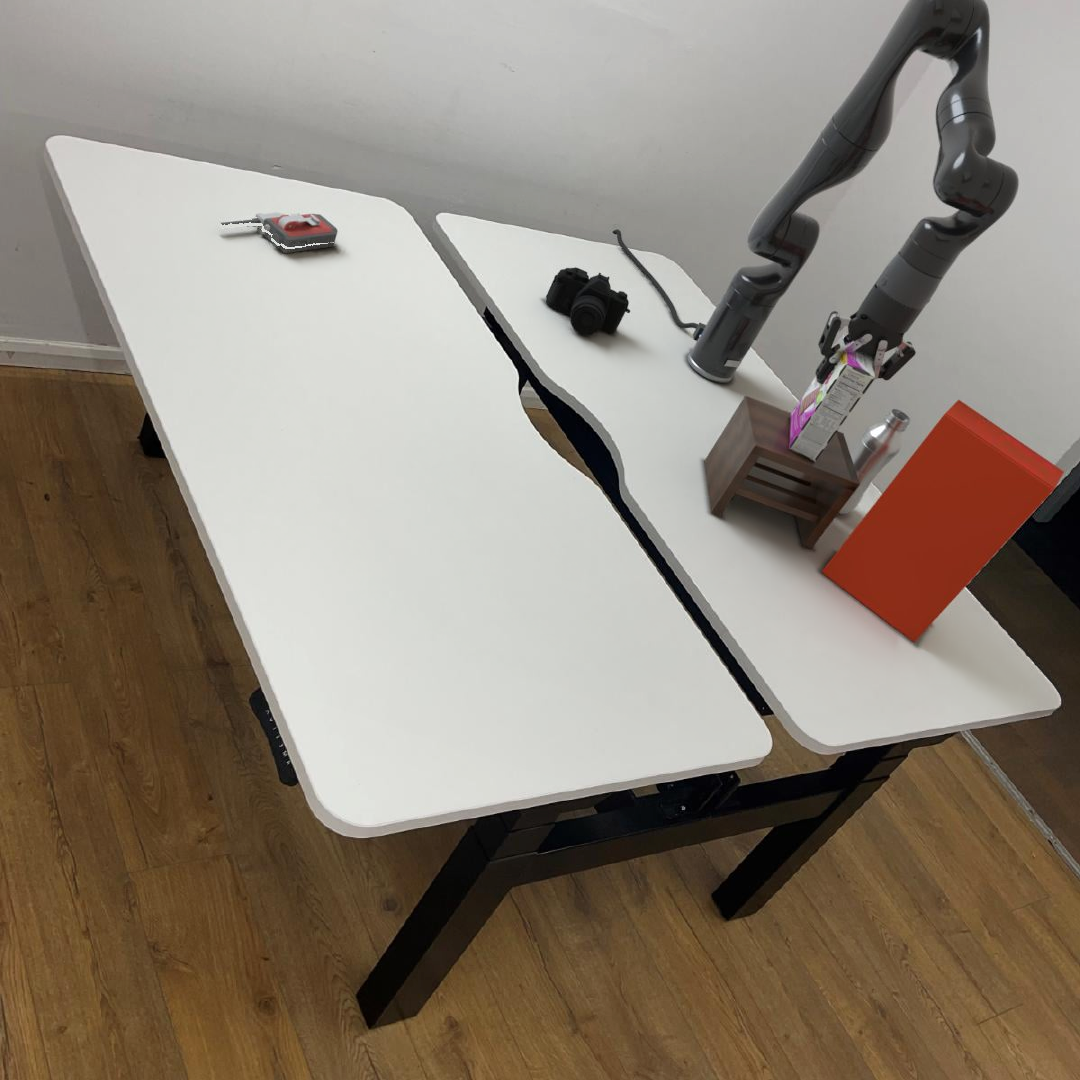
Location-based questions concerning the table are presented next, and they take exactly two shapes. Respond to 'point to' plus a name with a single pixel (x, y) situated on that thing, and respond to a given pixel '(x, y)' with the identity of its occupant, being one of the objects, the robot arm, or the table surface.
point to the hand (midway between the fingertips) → (836, 387)
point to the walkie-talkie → (295, 230)
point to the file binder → (941, 520)
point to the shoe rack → (779, 469)
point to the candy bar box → (829, 404)
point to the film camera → (587, 301)
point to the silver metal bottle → (876, 452)
